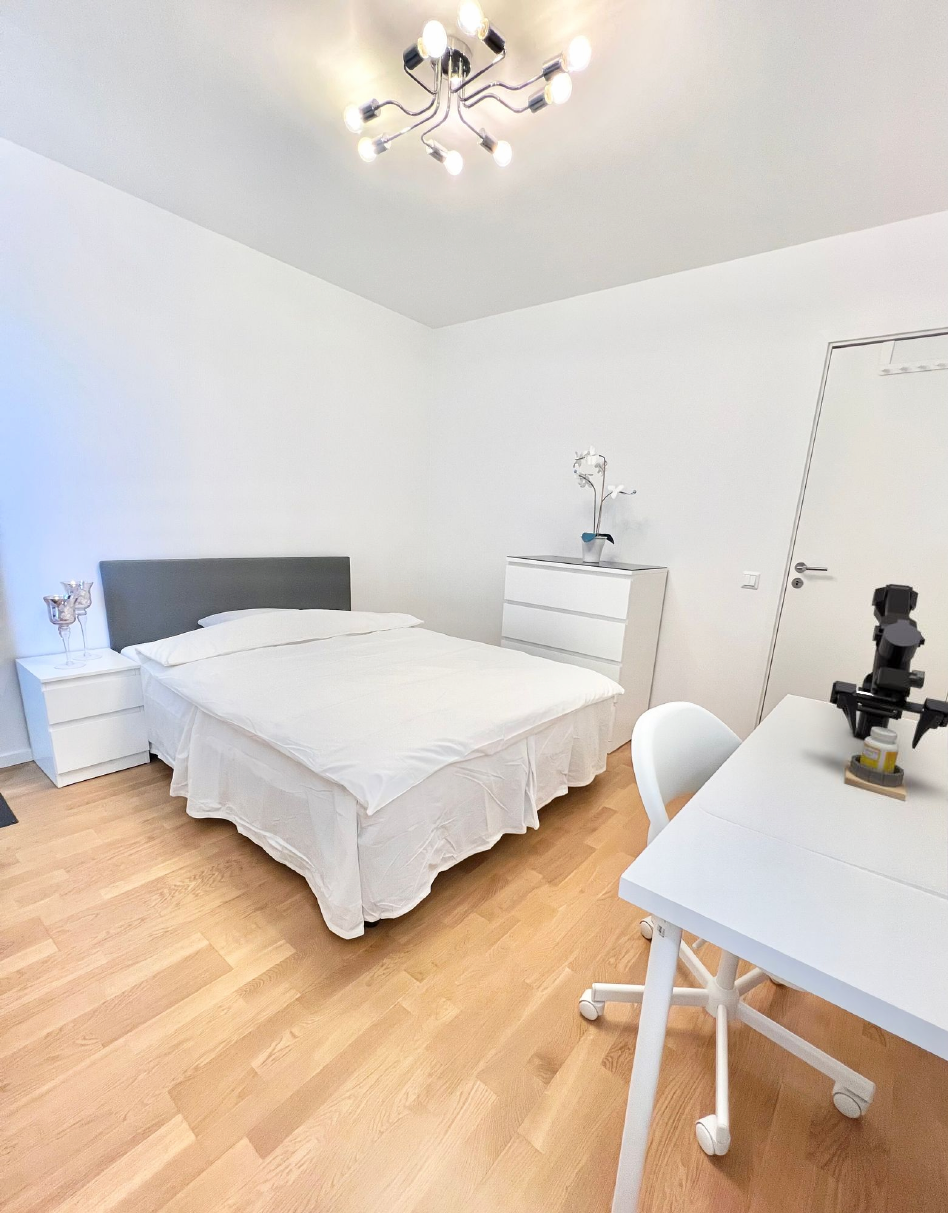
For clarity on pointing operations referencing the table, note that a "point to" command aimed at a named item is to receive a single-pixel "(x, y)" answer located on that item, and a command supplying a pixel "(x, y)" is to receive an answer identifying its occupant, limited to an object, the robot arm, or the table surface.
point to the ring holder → (875, 779)
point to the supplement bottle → (880, 750)
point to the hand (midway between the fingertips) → (882, 740)
